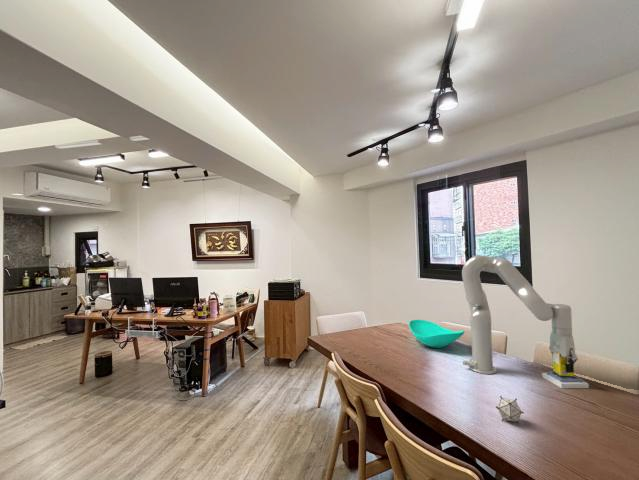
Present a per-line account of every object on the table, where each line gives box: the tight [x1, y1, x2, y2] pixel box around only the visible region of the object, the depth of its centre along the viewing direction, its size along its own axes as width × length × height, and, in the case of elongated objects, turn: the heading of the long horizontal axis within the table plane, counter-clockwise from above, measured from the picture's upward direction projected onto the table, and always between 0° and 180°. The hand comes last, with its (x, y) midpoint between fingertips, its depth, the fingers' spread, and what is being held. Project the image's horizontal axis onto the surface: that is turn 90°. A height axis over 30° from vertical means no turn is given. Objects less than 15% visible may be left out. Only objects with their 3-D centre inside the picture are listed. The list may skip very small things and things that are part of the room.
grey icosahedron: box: [495, 395, 525, 425], centre depth 111 cm, size 9×8×10 cm
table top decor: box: [408, 319, 465, 349], centre depth 199 cm, size 40×28×13 cm
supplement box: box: [552, 352, 575, 378], centre depth 142 cm, size 6×6×11 cm
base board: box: [541, 371, 590, 389], centre depth 142 cm, size 12×12×3 cm
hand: (563, 368), depth 142 cm, fingers closed on supplement box, 6 cm apart
